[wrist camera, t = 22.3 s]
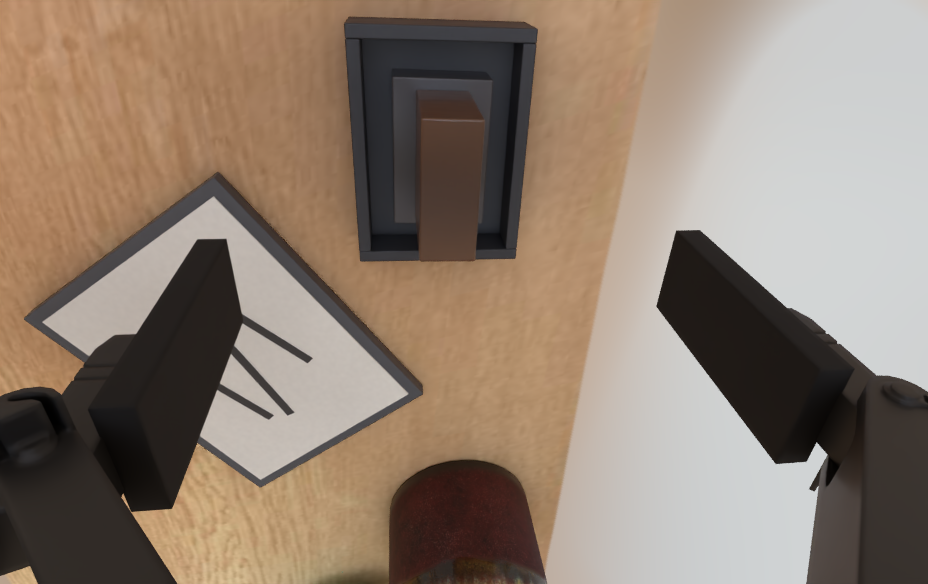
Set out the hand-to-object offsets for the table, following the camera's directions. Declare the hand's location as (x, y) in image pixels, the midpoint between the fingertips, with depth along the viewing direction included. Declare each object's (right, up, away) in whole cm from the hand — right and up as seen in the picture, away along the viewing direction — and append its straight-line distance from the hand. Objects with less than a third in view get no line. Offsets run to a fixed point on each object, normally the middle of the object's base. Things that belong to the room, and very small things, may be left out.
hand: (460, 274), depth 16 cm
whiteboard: (-13, -4, +17) cm, 22 cm away
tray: (-1, +7, +12) cm, 14 cm away
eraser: (-1, +7, +11) cm, 13 cm away
